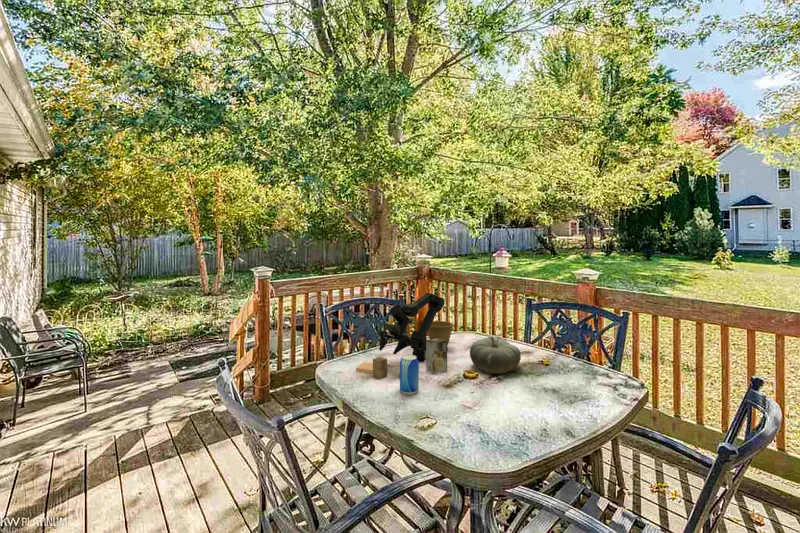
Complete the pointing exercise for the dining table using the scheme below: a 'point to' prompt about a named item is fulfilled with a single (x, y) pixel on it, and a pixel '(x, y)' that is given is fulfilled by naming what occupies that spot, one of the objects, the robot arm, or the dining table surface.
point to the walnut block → (380, 367)
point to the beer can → (409, 374)
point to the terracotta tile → (365, 367)
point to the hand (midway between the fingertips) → (386, 352)
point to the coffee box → (436, 355)
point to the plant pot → (440, 330)
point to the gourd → (495, 355)
